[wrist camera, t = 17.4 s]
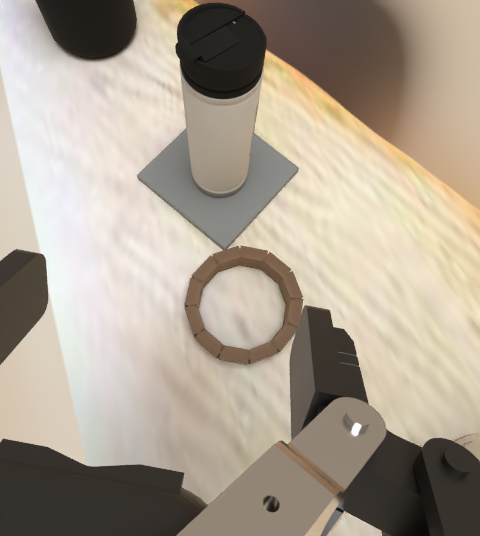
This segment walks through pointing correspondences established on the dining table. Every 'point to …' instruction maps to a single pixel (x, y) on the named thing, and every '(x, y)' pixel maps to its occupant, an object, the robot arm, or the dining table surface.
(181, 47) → the travel mug
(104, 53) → the coffee jar
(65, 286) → the dining table surface
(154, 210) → the dining table surface
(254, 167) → the slate mat
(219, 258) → the ring
